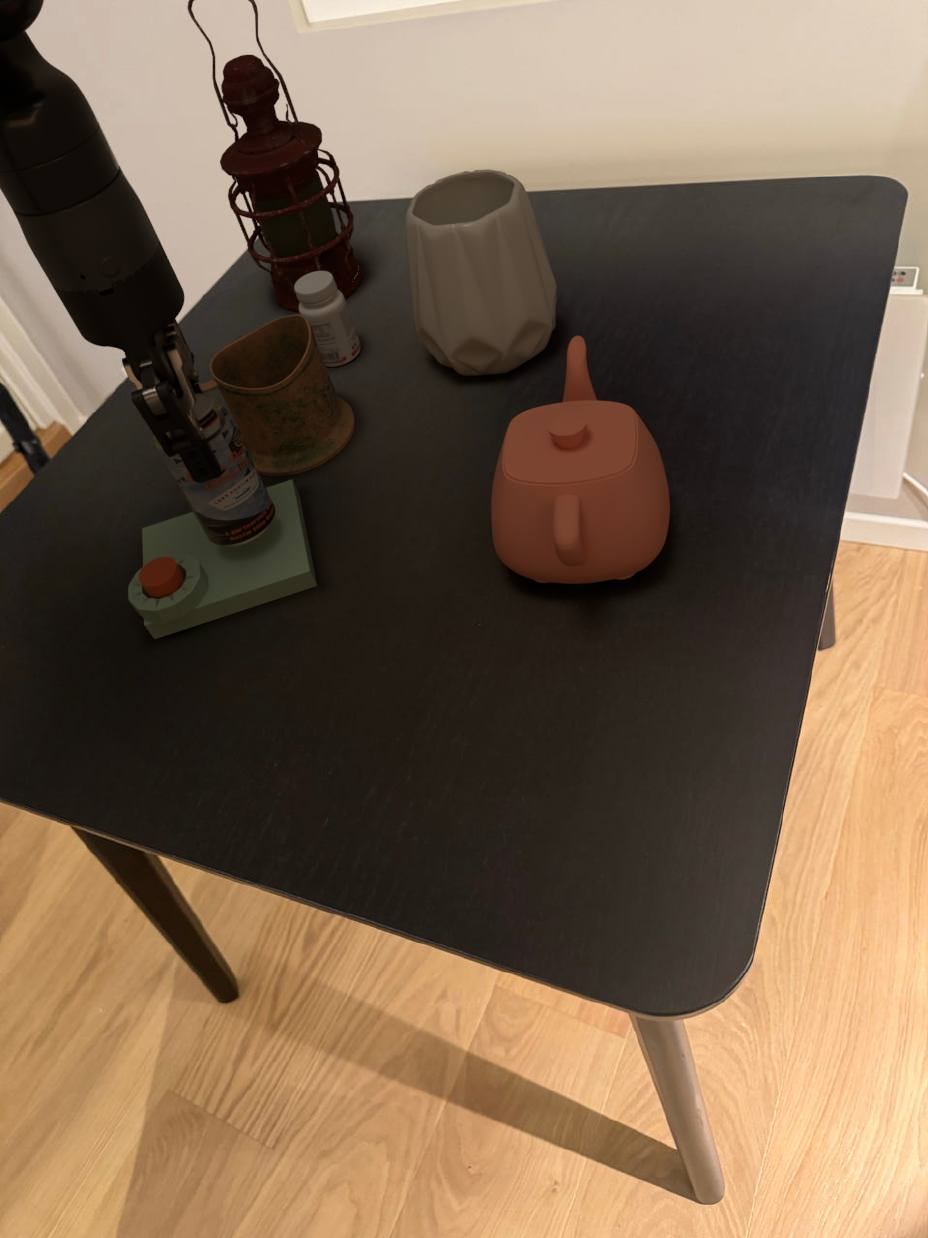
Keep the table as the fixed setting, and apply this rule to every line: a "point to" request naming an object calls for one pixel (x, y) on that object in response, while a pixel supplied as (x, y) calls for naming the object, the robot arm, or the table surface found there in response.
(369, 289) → the table surface
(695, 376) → the table surface
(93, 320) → the robot arm
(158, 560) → the button
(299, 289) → the pill bottle
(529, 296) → the vase
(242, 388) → the mug
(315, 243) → the lantern
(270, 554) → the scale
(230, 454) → the beverage can
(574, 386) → the teapot
